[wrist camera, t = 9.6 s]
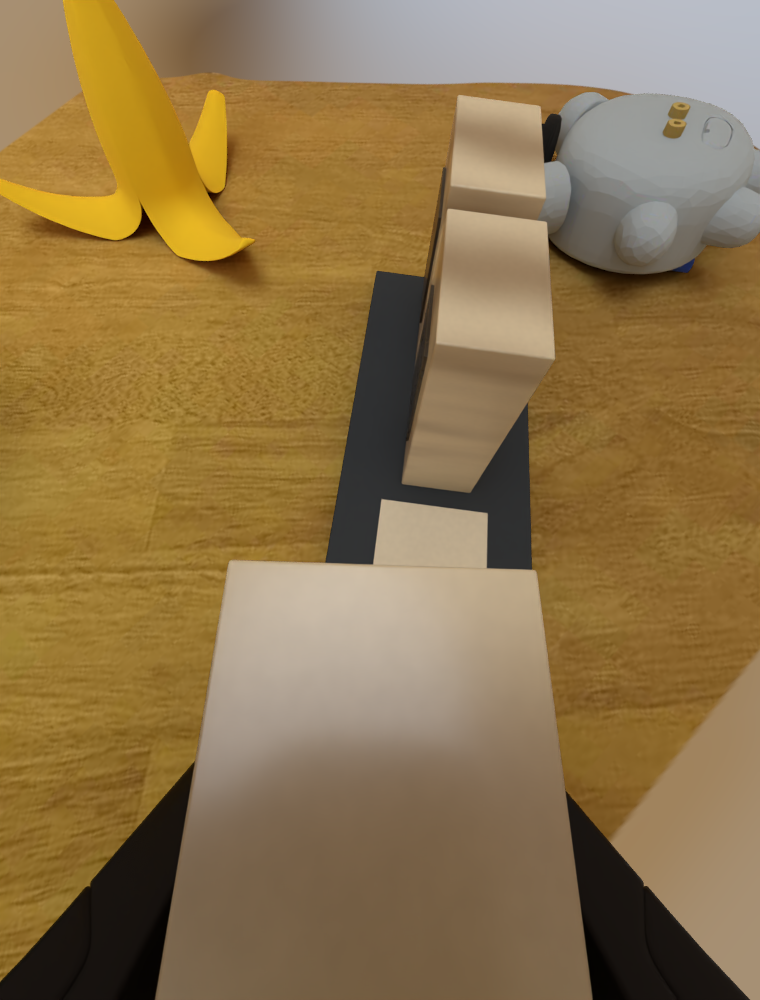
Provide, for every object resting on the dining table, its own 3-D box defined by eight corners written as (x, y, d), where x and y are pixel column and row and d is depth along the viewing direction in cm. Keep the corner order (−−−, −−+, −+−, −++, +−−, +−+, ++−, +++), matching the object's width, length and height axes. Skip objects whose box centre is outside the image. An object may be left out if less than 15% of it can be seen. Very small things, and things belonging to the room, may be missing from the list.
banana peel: (18, 226, 31) (-314, -212, 16) (226, 135, 37) (134, -250, 22) (142, 355, 27) (-138, -62, 12) (353, 230, 33) (351, -158, 18)
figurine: (736, 204, 36) (517, 158, 41) (827, 72, 29) (544, 34, 33) (706, 335, 30) (450, 263, 35) (812, 210, 22) (464, 139, 27)
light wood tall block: (477, 376, 27) (550, 198, 17) (412, 367, 27) (446, 183, 17) (480, 299, 30) (544, 105, 20) (420, 291, 30) (455, 93, 20)
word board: (528, 670, 21) (535, 670, 20) (313, 642, 21) (311, 640, 20) (521, 299, 31) (525, 289, 30) (376, 279, 31) (376, 268, 30)
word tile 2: (472, 494, 24) (560, 359, 14) (398, 484, 24) (430, 342, 14) (476, 394, 26) (551, 221, 16) (409, 386, 26) (443, 206, 16)
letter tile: (428, 878, 13) (703, 1641, 3) (287, 878, 13) (9, 1696, 2) (423, 639, 16) (549, 569, 5) (307, 636, 15) (215, 558, 5)
